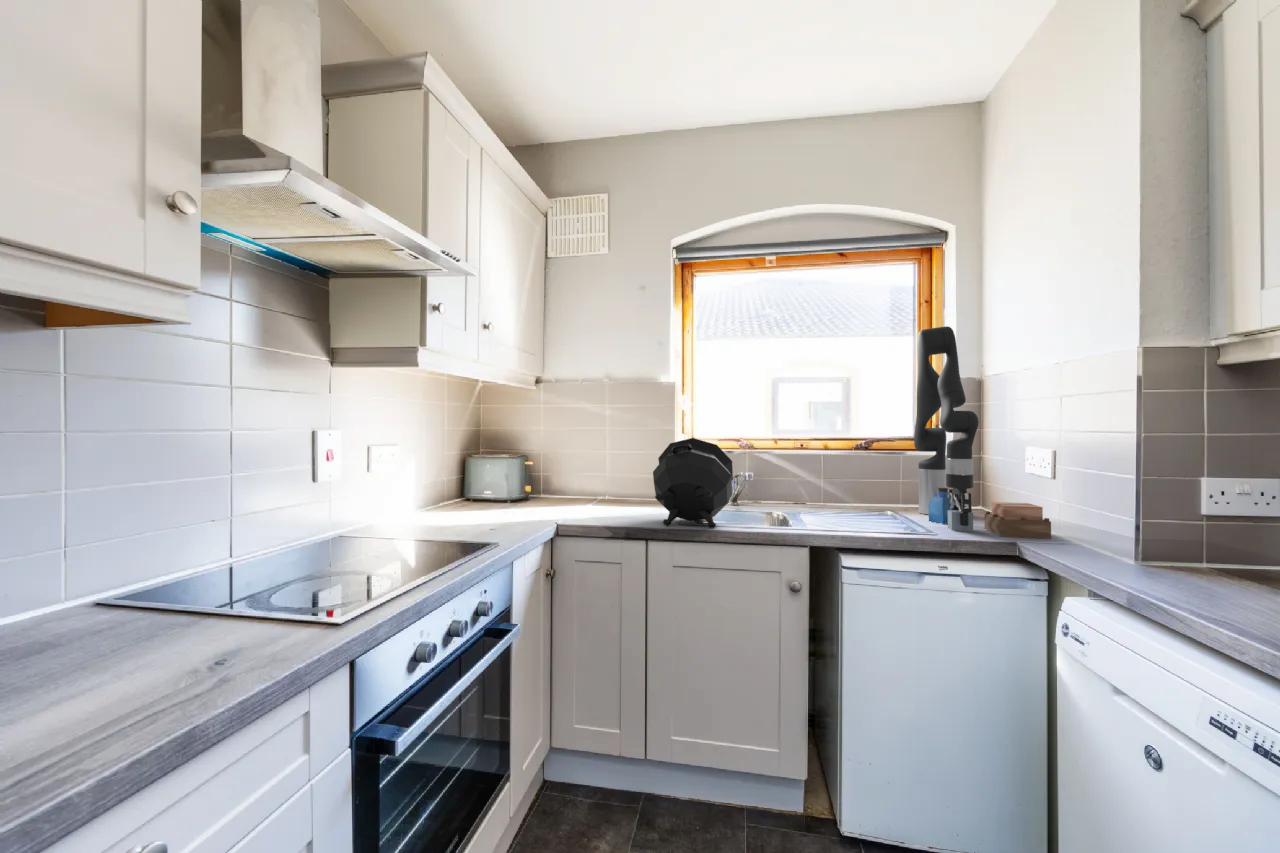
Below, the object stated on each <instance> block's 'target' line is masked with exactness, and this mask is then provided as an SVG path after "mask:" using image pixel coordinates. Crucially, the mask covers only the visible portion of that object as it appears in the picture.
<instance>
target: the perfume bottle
mask: <svg viewBox="0 0 1280 853" xmlns="http://www.w3.org/2000/svg"><path fill="white" fill-rule="evenodd" d="M937 494H938V497H933V499H932V500H931V501H930V503H929V514H928V522H929V521H931V522H930V523H934V522H936V523H935V524H939V523H942V524H941V525H946V524H945V523H948V510H951V508H950V507H949V487H946V488H938V491H937Z"/></svg>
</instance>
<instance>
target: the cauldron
mask: <svg viewBox="0 0 1280 853" xmlns="http://www.w3.org/2000/svg"><path fill="white" fill-rule="evenodd" d="M733 474H734V472H733V460H732V459H731V458H730V457H729V456H728V455H727V454H726V453H725V452H724V451H723V450H722V449H721V447H719V445H718V444H715V443H713V442H712V443H711V442H708V441H705V440H702V439H697V438H694V437H690V438H687V439H684V440H679V441H674V442H670V443H669V444H668V445H667V447H666V448H665V449H664V450H663V452H662V453H661V454H660V455H659V457H658V465H656V467H655V469H653V471H652V476H653V485H654V486H653V487H654V493H655V496H654V498H655V500H656V501H657V502H659V503H660V505H662V506H663V507H664V508H665V509H666V510H667V511H668V516H667V518H666V519H665V518H664V519H663V522H662V523H663V524H662V525H664V526H667V527H669V526H671V525H672V524H673V523H672V522H673V521H675V520H676V519H678V518H679V519H682V520H684V521H689V522H694V521H700V520H705V521H706V522H707V524H706V525H707V526H708V528H709V529H715V528H716V525H717V523H716V522H714V519H713V518H714V517H715V516H717V514H718V513H719V512H721V510H723V509H724V508H725V507H726V506H727V504H728V503H729V501H730V499H731V498H732V496H733V480H734V475H733Z"/></svg>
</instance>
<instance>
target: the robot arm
mask: <svg viewBox="0 0 1280 853" xmlns="http://www.w3.org/2000/svg"><path fill="white" fill-rule="evenodd" d="M916 345H917V382H916V383H917V385H916V417H915V426H914V434H913V436H914V438H913V443H914V448H915V449H916V451H918V452H935V454H934V455H933V456H931V457H930V458H927V459H923V460H920V461H918V513H919V514H923V515H929V503H930V501H931V500H932V499H933V497H938V494H937V491H938V488H948V492H949V495H948V498H949V507H950V508H951V510H959V511H960V513H961V514H960V525H961V526H968V525H969V519H968V514H969V513H971V512H973V510H972V493H970V492H968V491H967V490H968V489H973V488H974V463H973V443H974V441H975V437H976V433H977V431H978V428H979V421H980V420H979V417H978V416H977V414H976V412H974V411H972V410H954V409H956V408H960V407H962V406H963V405H965V403H966V395H965V392H964V387H963V384H962V379H961V375H960V374H961V373H960V366H959V355H958V348H957V341H956V335H955V332H954V330H953V328H952V327H950V326H940V327H939V326H938V327H931V328H925V329H921V330H920V331H919V332H918V334H917V344H916ZM943 354H945V355H946V359H945V360H946V361H945V364H944V367H943V369H942V370H941V372H940V374H939V373H938V372H937V371H936V370H935V369H934V367H933V365H932V364H931V362H930V356H936V355H943ZM939 410H940V417H939V424H940V427H927V425H928V423H929V421H930V420H931V419H932V418H933V417H934V416H935V414H937V413H938V411H939ZM947 433H957V434H958V433H961V434H960V436H959V437H958V439H952V440H949V441H948V442H947Z"/></svg>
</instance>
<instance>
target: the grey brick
mask: <svg viewBox="0 0 1280 853" xmlns="http://www.w3.org/2000/svg"><path fill="white" fill-rule="evenodd" d="M960 514H961V513H960V511H959V510H948V524H947V529H948V528H949V529H948V530H950V529H951V530H950V531H952V530H958V531H957V532H970V531H973V532H974V512H973V511H972V512H971V513H969V514H968V519H969V525H968V526H961V525H960Z"/></svg>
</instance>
